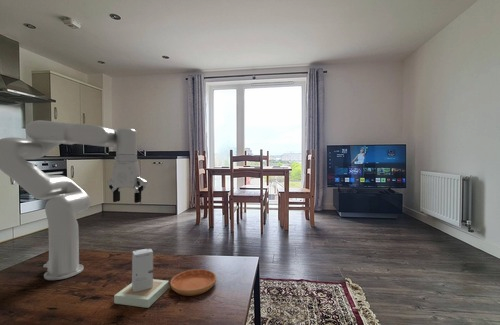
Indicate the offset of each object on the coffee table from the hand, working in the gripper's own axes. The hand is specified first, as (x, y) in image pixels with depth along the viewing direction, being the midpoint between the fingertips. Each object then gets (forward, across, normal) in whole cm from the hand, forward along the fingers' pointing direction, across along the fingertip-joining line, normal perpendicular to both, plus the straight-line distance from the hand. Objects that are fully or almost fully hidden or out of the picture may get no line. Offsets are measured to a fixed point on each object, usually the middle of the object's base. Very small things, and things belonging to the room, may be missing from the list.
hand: (127, 201), depth 99 cm
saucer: (+29, +31, -5) cm, 43 cm away
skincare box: (+26, +17, -14) cm, 34 cm away
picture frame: (+28, +17, -14) cm, 36 cm away
